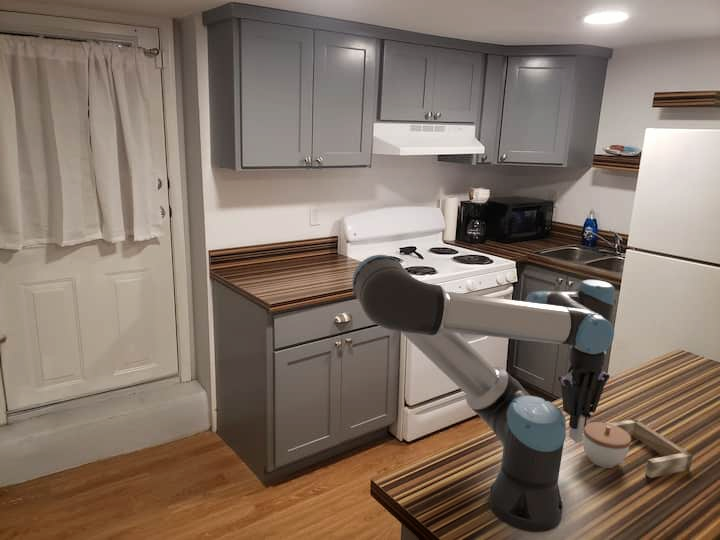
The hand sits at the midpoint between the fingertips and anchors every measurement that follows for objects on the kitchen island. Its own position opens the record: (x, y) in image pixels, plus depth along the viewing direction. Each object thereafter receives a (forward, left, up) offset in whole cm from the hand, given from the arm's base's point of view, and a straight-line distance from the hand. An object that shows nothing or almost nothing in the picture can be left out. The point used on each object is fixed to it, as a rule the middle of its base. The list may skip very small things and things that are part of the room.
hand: (575, 439), depth 135 cm
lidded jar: (+10, 0, -8) cm, 12 cm away
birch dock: (+22, 0, -8) cm, 23 cm away
